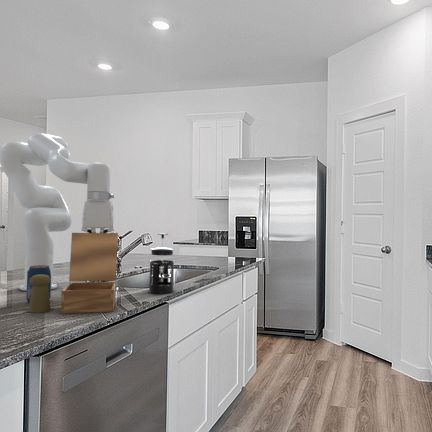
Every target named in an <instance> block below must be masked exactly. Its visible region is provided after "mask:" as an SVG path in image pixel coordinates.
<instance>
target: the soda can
mask: <svg viewBox="0 0 432 432" xmlns="http://www.w3.org/2000/svg"><path fill="white" fill-rule="evenodd" d="M39 274H44V275H48V276H49V277H50V282H49V284H48V292H49V300H50V301H51V295H52V294H51V293H52V289H51V270H50V268H49V266H45V265H41V266H30V268H29V270H28V272H27V291H26V301H27V303H28V304H29V303H30V297H31V292H32V284H31V277H32V276H34V275H39Z"/></svg>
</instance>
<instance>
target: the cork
mask: <svg viewBox="0 0 432 432" xmlns="http://www.w3.org/2000/svg"><path fill="white" fill-rule="evenodd" d="M49 282H50V277H49V276H48V275H44V274H39V275H34V276H32V277H31V284H32V292H31V297H30V303H28V309H27V312H28V313H35V314H37V313H46V312H50V311H51V310H52V309H51V302H50V301H51V299H50V300H49V292H48V284H49Z"/></svg>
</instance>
